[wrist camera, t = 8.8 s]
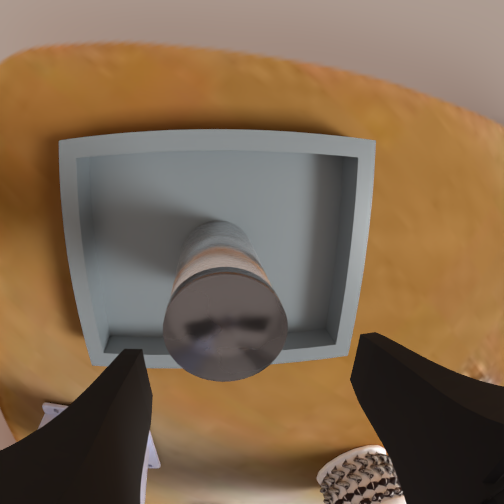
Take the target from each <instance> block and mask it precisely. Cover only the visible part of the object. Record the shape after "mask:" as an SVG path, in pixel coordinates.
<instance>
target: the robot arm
mask: <svg viewBox="0 0 504 504" xmlns="http://www.w3.org/2000/svg"><path fill="white" fill-rule="evenodd" d="M350 381H351V383H352V386H353V389H354V391H355V394H356V396H357V399H358V401H359V403H360V405H361V407H362V409H363V411H364V412H365V414H366V416H367V418H368V419H369V421H370V423H371V425H372V426H373V428H374V430H375V431H376V433H377V435H378V437H379V438H380V440H381V442H382V444H383V445H384V447H385V449H386V451H387V453H388V455H389V457H390V459H391V462H392V464H393V467H394V469H395V472H396V474H397V477H398V480H399V483H400V485H401V488H402V491H403V494H404V497H405V501H406V504H504V387H503V386H498V385H494V384H490V383H486V382H482V381H479V380H476V379H473V378H470V377H467V376H464V375H462V374H459V373H456V372H454V371H452V370H449V369H447V368H445V367H443V366H441V365H438V364H436V363H434V362H432V361H430V360H428V359H426V358H424V357H422V356H420V355H419V354H417V353H415V352H413V351H411V350H409V349H407V348H406V347H404V346H402V345H400V344H398V343H396V342H395V341H393V340H391V339H389V338H387V337H385V336H383V335H381V334H378V333H376V332H374V333H367V334H360V339H359V343H358V348H357V352H356V357H355V361H354V365H353V370H352V374H351V378H350ZM152 396H153V395H152V391H151V387H150V383H149V378H148V374H147V369H146V365H145V360H144V355H143V350H142V349H124V350H123V351H122V352H121V353H120V354H119V355H118V356H117V357H116V358H115V359H114V360H113V361H112V362H111V364H110V365H109V366H108V367H107V368H106V369H105V370H104V371H103V372H102V373H101V375H100V376H99V377H98V378H97V379H96V380H95V381H94V382H93V383H92V384H91V385H90V386H89V387H88V388H87V389H86V390H85V391H84V392H83V393H82V394H81V395H80V396H79V397H78V398H77V399H76V400H75V401H74V402H73V403H72V404H71V405H69V406H65V405H59V404H52V403H46V402H45V403H43V405H42V408H43V410H44V412H45V414H44V416H43V418H42V421H41V423H40V425H39V427H38V430H36V431H35V432H33V433H32V434H30V435H28V436H27V437H25V438H24V439H22V440H20V441H18V442H17V443H15V444H13V445H11V446H9V447H7V448H5V449H3V450H1V451H0V504H145V495H146V483H147V471H148V468H160V466H161V463H160V460H159V457H158V454H157V451H156V448H155V445H154V442H153V439H152V436H151V432H150V425H151V414H152Z"/></svg>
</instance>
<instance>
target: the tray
mask: <svg viewBox="0 0 504 504" xmlns="http://www.w3.org/2000/svg"><path fill="white" fill-rule="evenodd" d="M375 147H376V141H375V140H368V139H360V138H352V137H344V136H335V135H325V134H314V133H302V132H288V131H270V130H242V129H188V130H161V131H143V132H129V133H117V134H107V135H97V136H89V137H81V138H73V139H66V140H59V174H60V192H61V205H62V216H63V226H64V234H65V242H66V249H67V256H68V262H69V268H70V274H71V280H72V285H73V290H74V295H75V300H76V305H77V309H78V314H79V318H80V322H81V327H82V331H83V334H84V338H85V342H86V346H87V349H88V353H89V356H90V360H91V363H92V365H94V366H109V365H110V364H111V362H112V361H113V360H114V359H115V358H116V357H117V356H118V355H119V354H120V353H121V352H122V351H123V350H124V349H142V350H143V355H144V360H145V365H146V368H182V367H181V366H180V365H178V364H177V363H176V362H175V360H174V359H173V358H172V357H171V355H170V354H169V352H168V350H167V348H166V345H165V342H164V338H163V322H164V317H165V313H166V308H167V305H168V302H169V299H170V297H171V292H172V288H173V284H174V279H175V275H176V271H177V266H178V262H179V258H180V254H181V250H182V246H183V243H184V241H185V239H186V237H187V236H188V234H189V233H190V232H191V231H192V230H193V229H194V228H196V227H197V226H199V225H201V224H203V223H205V222H209V221H226V222H230V223H232V224H234V225H236V226H238V227H239V228H240V229H242V230H243V231H244V232H245V234H246V235H247V236H248V238H249V240H250V242H251V244H252V246H253V248H254V250H255V252H256V254H257V256H258V259H259V261H260V263H261V265H262V267H263V269H264V271H265V273H266V275H267V278H268V280H269V282H270V284H271V286H272V288H273V289H274V291H275V292H276V294H277V296H278V297H279V300H280V302H281V304H282V306H283V308H284V310H285V313H286V316H287V321H288V333H287V338H286V342H285V344H284V347H283V349H282V350H281V352H280V354H279V355H278V356H277V358H276V359H275V360H274V361H273V362H272V363H271V364H279V363H290V362H300V361H309V360H318V359H326V358H334V357H341V356H348V352H349V347H350V343H351V338H352V333H353V328H354V323H355V318H356V312H357V307H358V301H359V296H360V290H361V283H362V277H363V270H364V264H365V257H366V249H367V241H368V233H369V224H370V215H371V205H372V194H373V181H374V166H375Z"/></svg>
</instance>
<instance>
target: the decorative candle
mask: <svg viewBox="0 0 504 504" xmlns="http://www.w3.org/2000/svg"><path fill="white" fill-rule="evenodd" d="M316 479H317V481H318V483H319V484H320V487H322V488H321V489H320V492H321V493H324V494H323V495H324V498H325V499H324V501H323V502H324V503H326V504H406V501H405V497H404V494H403V491H402V488H401V485H400V483H399V480H398V477H397V474H396V472H395V469H394V467H393V465H392V462H391V459H390V457H389V456H388V455H386V450H385V448H383V447H381V446H379V445H366V446H363V447H359V448H355V449H352V450H350V451H348V452H345V453H343V454H341V455H339V456H337V457H336V458H334V459H333V460H331V461H330V462H328V463H327V464H326V465H325V466H324V467H323V468H322V469H321V470H320V471H319V472H318V475H317V478H316Z"/></svg>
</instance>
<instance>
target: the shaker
mask: <svg viewBox="0 0 504 504" xmlns="http://www.w3.org/2000/svg"><path fill="white" fill-rule="evenodd" d="M287 333H288V321H287V316H286V313H285V310H284V308H283V306H282V304H281V302H280V300H279V297H278V296H277V294H276V292H275V291H274V289H273V288H272V286H271V284H270V282H269V280H268V278H267V275H266V273H265V271H264V269H263V267H262V265H261V263H260V261H259V259H258V256H257V254H256V252H255V250H254V248H253V246H252V244H251V242H250V240H249V238H248V236H247V235H246V234H245V232H244V231H243V230H242V229H240V228H239V227H238V226H236V225H234V224H232V223H230V222H226V221H209V222H205V223H203V224H201V225H199V226H197V227H196V228H194V229H193V230H192V231H191V232H190V233H189V234H188V236H187V237H186V239H185V241H184V243H183V246H182V250H181V254H180V258H179V262H178V266H177V271H176V275H175V279H174V284H173V288H172V292H171V297H170V299H169V302H168V305H167V308H166V313H165V317H164V322H163V338H164V342H165V345H166V348H167V350H168V352H169V354H170V355H171V357H172V358H173V359H174V360H175V362H176V363H177V364H178V365H180V366H181V367H182V368H183V369H185V370H186V371H187V372H189V373H191V374H193V375H195V376H197V377H200V378H203V379H207V380H212V381H222V382H223V381H235V380H240V379H244V378H247V377H250V376H253V375H255V374H257V373H259V372H260V371H262V370H264V369H265V368H266V367H268V366H269V365H270V364H271V363H272V362H273V361H274V360H275V359H276V358H277V356H278V355H279V354H280V352H281V350H282V349H283V347H284V344H285V342H286V338H287Z"/></svg>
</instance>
